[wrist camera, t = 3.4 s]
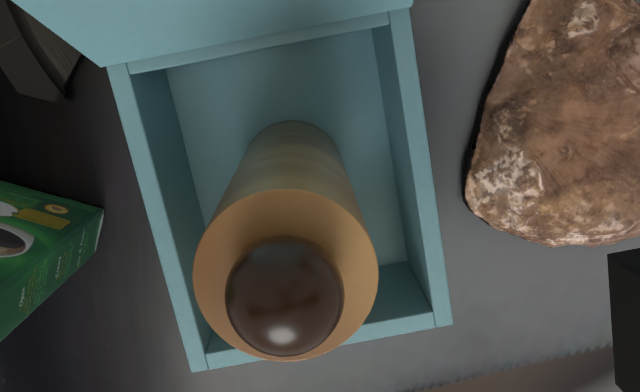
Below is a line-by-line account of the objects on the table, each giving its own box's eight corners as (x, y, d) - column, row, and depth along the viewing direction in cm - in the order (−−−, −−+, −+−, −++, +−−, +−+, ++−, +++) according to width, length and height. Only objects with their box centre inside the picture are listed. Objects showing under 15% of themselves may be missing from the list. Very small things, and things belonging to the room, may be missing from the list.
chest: (421, 266, 31) (454, 324, 25) (213, 305, 31) (190, 373, 25) (382, 9, 28) (408, -2, 21) (149, 54, 28) (102, 57, 21)
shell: (741, 45, 29) (801, 45, 25) (628, 269, 32) (669, 297, 28) (534, -36, 27) (568, -47, 24) (436, 206, 30) (454, 227, 27)
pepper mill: (293, 98, 28) (284, 169, 12) (362, 170, 29) (438, 323, 13) (222, 168, 29) (124, 321, 13) (292, 236, 30) (282, 456, 14)
